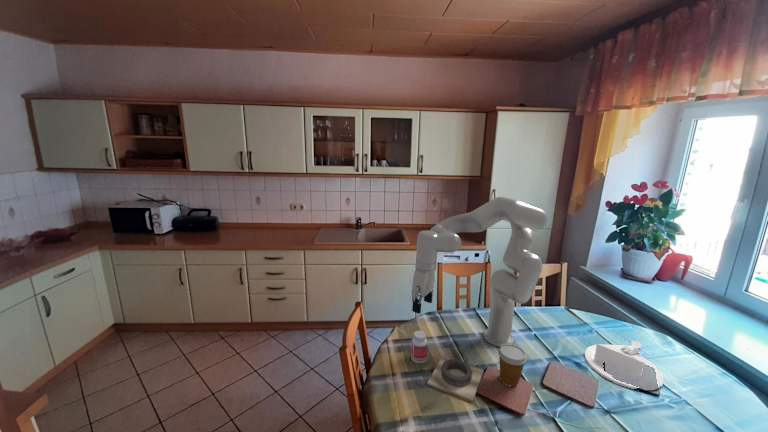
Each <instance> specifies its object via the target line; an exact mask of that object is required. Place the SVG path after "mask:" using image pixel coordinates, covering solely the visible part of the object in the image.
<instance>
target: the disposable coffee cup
mask: <svg viewBox="0 0 768 432" xmlns="http://www.w3.org/2000/svg"><path fill="white" fill-rule="evenodd" d="M497 352H498V353H497V354H498V356H499V379H500V378H501V380H502V382H504V383H505V384H507V385H511V386H514V387H516V386H515V385H517V384H518V385H519V382H520V380H521V375H522V373H523V370H524V366H525V363H526V362H527V361H528V357H527V354H526V351H525V350H524V349H523V348H522V347H520V346H518V345H515V344H513V345H512V344H505V345H502V346H501V347H499V348H498V350H497ZM501 380H500V381H501ZM502 382H501V383H502ZM504 383H503V384H504ZM505 384H504V385H505ZM507 385H506V386H507ZM518 385H517V386H518ZM511 386H510V387H511Z"/></svg>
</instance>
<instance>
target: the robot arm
mask: <svg viewBox="0 0 768 432" xmlns="http://www.w3.org/2000/svg"><path fill="white" fill-rule="evenodd" d="M501 221H503V222H504V221H505V222H508V223H509V224H510V226H511V235H510V238H509V241H508V243H507V246H506V249H505V251H504V254H503V256H502V263H503V264H504V266H505V267H507V268H508V269H510V270H512V271H514V272H515V273H517V274H518V275H517V274H515V273H513V272H511V271H509V270H508V269H507V270H506V269H501V268H500V269H496V270H495V271H494V272H493V273H492V274H491V277H490V290H491V295H490V296H491V298H490V307H489V315H488V316H489V317H488V325H487V329H485V330H484V332H483V338H484V340H485V341H486V342H487V343H488V344H491V345H492V346H495V347H497V348H498V347H499V348H500V347H501V346H502V345H505V344H512V345H514V343H515V338H514V335H512V329H513V320H514V313H515V305H516V303H517V304H521V305H522V304H526V303H527V302H529V300H530V299H531V297H532V296H533V293H534V291H535V290H536V286H537V284H538V281H539V279H540V276H541V273H542V271H543V261H542V259H541V257H540V256H539V255H537V254H535V253H532V252H531V247H532V244H533V241H534V231H539V230H542V229H543V228H544V227H546V225H547V223H548V216H547V213H546V212H545V210H543V209H541V208H538V207H535V206H532V205H530V204H528V203H525V202H523V201H519V200H517V199H512V198H509V197H505V196H497V197H495V198H493V199H491V200H489V201H488V202H486V203H484V204H483V205H480V206H479V207H478V208H476V209H474V210H472V211H470V212H466V213H462V214H457V215H453V216H450V217H447V218H445V219H443V220H442V221H440V222H438V223H436V224H435V225H433V227H431V228H430V229H429V230H421V231H419V232H418V233H417V242H416V252H415V253H416V254H415V264H414V265H415V266H414V268H415V270H414V274H413V279H412V287H411V300H412V307H411V308H412V312H413V313H416V314H418V315H419V314H421V312H422V301H424V302H425V303H429V304H432V302H433V296H434V295H433V293H434V288H435V281H436V280H435V275H436V274H435V273H436V272H435V271H436V270H437V261H438V260H437V259H438V253H447V254H449V253H450V254H451V253H454V252H457V251H458V250H459V249H460V248H461V246H462V239H461V237H460V236H459V235H458V234H459V233H481V232H484V231H486V230H487V229H490V228H491V227H492V226H494V225H496V224H498V223H499V222H501ZM422 299H423V300H422Z"/></svg>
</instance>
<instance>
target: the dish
mask: <svg viewBox="0 0 768 432" xmlns="http://www.w3.org/2000/svg"><path fill="white" fill-rule="evenodd" d="M630 343H631V344H630V345H623V344H622V345H621V344H607V343H606V344H603V343H601V344H600V343H597V344H593V345H590V346H587V348H586V349H585V351H584V359H585V362H586V363H587V364H588V365H589V367H590V368H591V369H592V370H593V371H595V373H597V375H600V376H601V377H603V378H604V379H606V380H608V381H610V382H611V381H612V383H614V384H616V385H618V386H621V387H623V386H624V387H623V388H626V387H628V388H627V389H629V388H631V389H630V390H634V389H637V388H639V387H636V386H633V385H631V384H627V383H625V382H621V381H619V380H616V379H614V378H613V377H612V375H610V374H608V373H607V372H605V371H604V368H603V367H604V365H603V363H604V362H607V363H610V364H613V365H615V366H618V367H621V368H622V369H625V370H627V371H629V372H631V373H634V374H636V375H638V376H641V375H642V371H643V366H644V364H646V365H649V366H650V367H653V368H654V369H655V372H656V379H657V384H658V387H661V388H663V385H664V381H665V377H664V376H663V373H662V372H661V370H660V369H659V368H657V366H656V365H655V364H653V363H652V362H651V361H649V360H648V359H646V358H644V357H643V356H642V355H641V354H640V350H643V347H644V346H642V343H640V342H639V341H636V340H632V341H631V342H630Z"/></svg>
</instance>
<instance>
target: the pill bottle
mask: <svg viewBox="0 0 768 432" xmlns="http://www.w3.org/2000/svg"><path fill="white" fill-rule="evenodd" d="M410 349H411V351H410V358H411V360H412V362H414V363H415V364H424V363H425V362H426V361H427V359H428V339H427V334H426V332H424V331H422V330H417V331H415V332H413V337H412V339H411V348H410Z"/></svg>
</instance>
